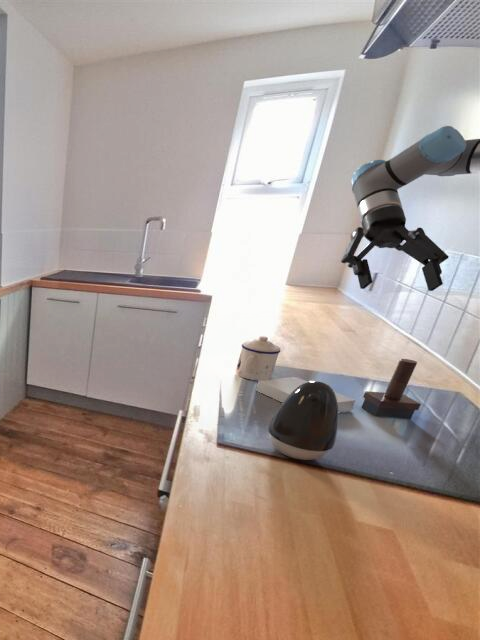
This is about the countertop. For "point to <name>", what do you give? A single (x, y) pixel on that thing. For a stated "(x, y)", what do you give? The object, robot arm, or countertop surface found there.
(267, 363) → the teacup with lid
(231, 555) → the countertop surface
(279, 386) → the white tile
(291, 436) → the dark grey egg-shaped speaker
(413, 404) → the scrub brush
